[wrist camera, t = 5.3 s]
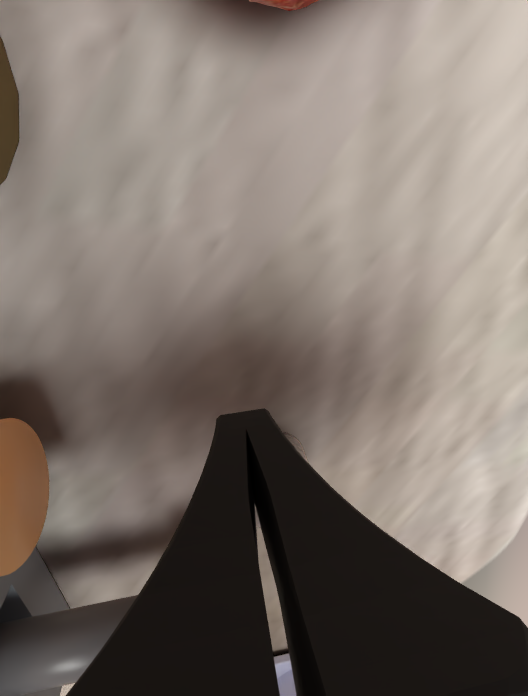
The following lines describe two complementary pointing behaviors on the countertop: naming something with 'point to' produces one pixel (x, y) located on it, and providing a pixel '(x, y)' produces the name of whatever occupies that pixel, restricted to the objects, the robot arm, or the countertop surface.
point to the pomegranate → (286, 3)
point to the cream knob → (55, 645)
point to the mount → (30, 598)
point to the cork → (7, 115)
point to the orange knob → (21, 493)
